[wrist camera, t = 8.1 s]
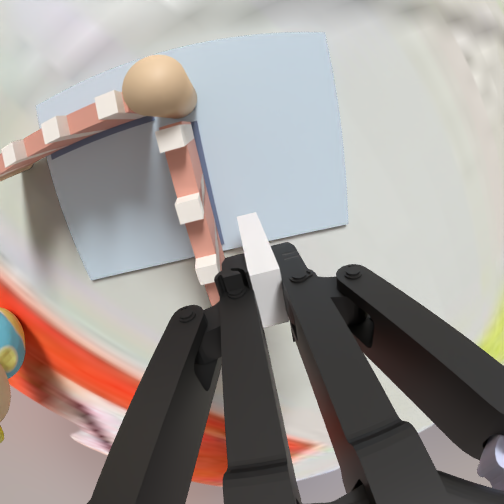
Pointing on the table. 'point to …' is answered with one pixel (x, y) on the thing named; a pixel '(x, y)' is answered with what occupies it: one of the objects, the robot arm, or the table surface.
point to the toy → (9, 357)
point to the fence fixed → (108, 112)
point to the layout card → (208, 153)
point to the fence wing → (193, 202)
